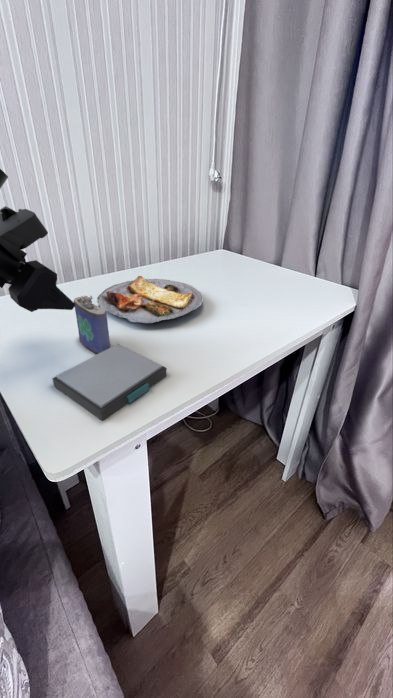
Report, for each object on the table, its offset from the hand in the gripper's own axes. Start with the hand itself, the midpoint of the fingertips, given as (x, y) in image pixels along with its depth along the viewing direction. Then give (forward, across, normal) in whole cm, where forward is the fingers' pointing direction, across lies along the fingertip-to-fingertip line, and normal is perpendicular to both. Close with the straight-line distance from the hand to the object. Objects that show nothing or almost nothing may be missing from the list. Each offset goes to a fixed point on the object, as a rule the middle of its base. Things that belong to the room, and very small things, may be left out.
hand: (61, 297), depth 56 cm
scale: (+9, -12, +7) cm, 17 cm away
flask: (+12, 0, +5) cm, 13 cm away
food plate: (+26, +9, -9) cm, 28 cm away
